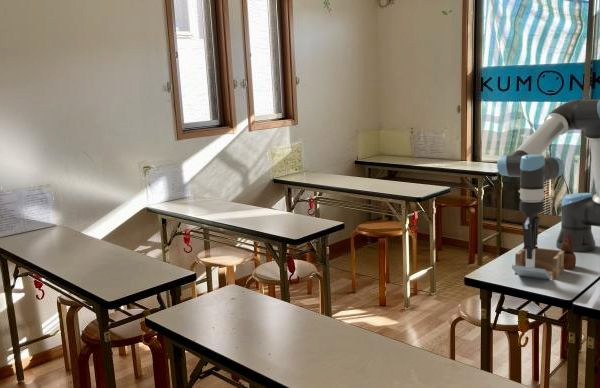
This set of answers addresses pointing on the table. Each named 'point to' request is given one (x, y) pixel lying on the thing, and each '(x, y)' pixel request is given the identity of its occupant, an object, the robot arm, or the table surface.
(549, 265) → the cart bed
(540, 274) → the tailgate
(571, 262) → the wooden figurine
